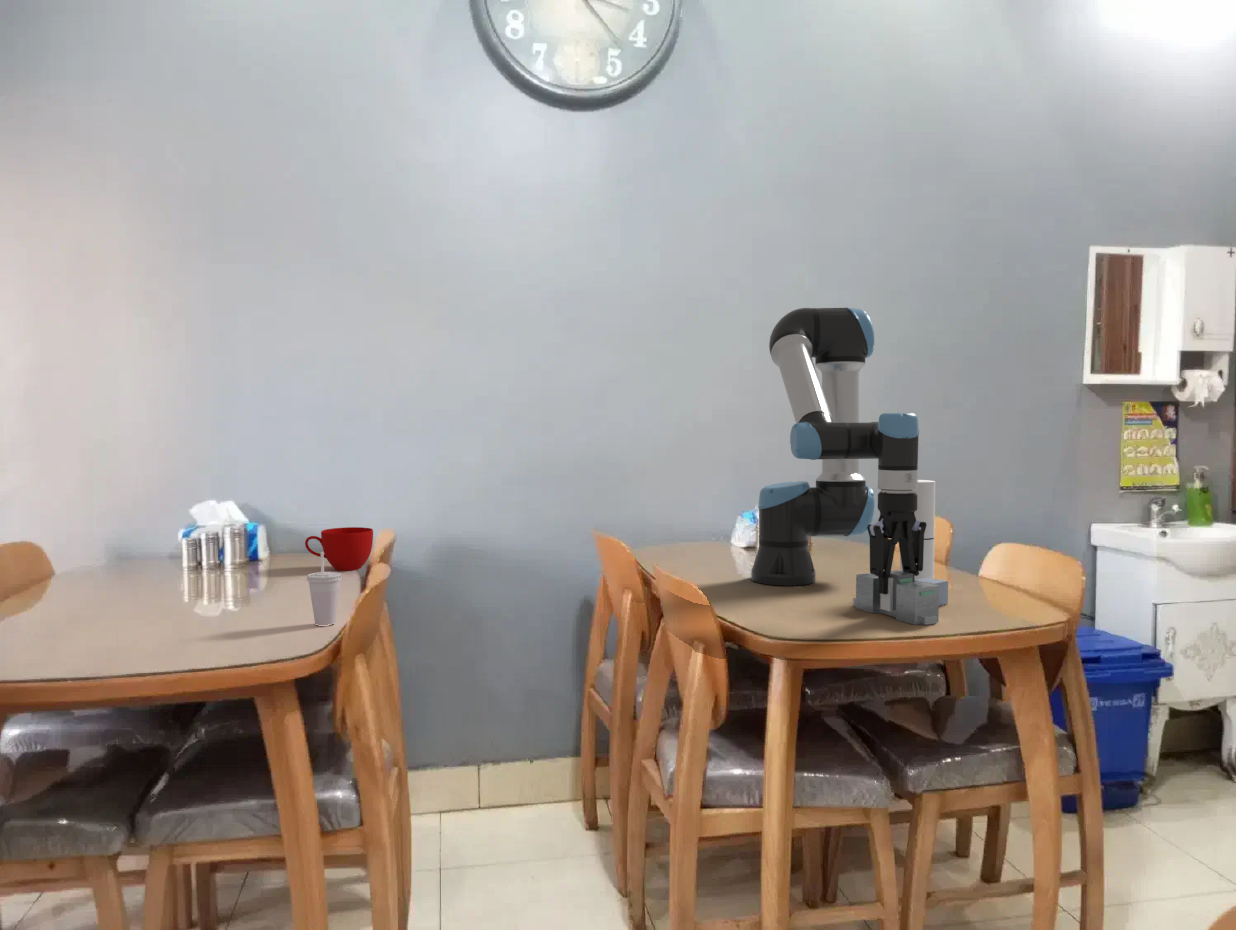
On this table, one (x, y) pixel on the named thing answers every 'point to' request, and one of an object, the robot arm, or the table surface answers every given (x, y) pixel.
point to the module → (899, 581)
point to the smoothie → (324, 594)
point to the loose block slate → (942, 588)
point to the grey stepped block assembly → (900, 600)
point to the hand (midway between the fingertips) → (896, 608)
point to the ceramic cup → (345, 547)
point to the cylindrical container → (926, 515)
